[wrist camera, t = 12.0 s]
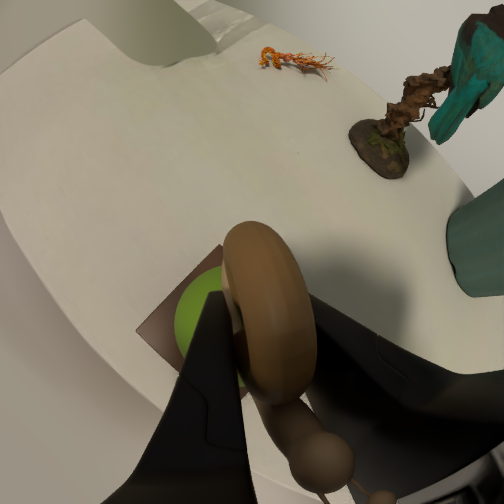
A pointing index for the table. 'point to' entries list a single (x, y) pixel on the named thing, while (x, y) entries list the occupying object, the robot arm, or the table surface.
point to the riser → (162, 318)
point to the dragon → (287, 58)
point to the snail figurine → (274, 352)
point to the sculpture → (422, 87)
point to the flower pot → (479, 243)
